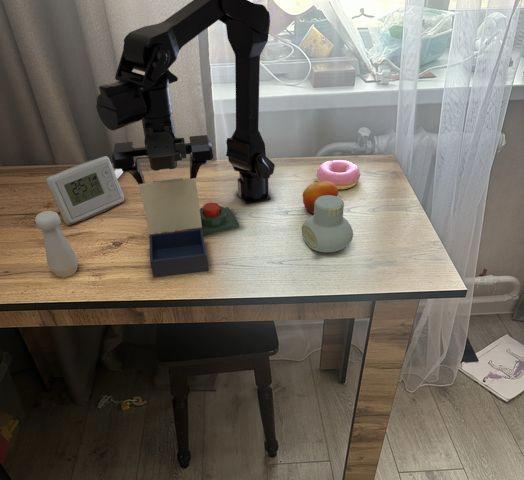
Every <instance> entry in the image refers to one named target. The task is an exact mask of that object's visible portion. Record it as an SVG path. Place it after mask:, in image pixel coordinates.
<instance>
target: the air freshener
mask: <svg viewBox="0 0 524 480" xmlns="http://www.w3.org/2000/svg"><path fill="white" fill-rule="evenodd" d="M344 206H345V201H344V200H343V199H342V198H341V197H339V196H338V197H337V196H333V195H325V196H321V197H319V198H317V199H316V200H315V203H314V213H313V215H311V216H309V217H308V218H306V220H305V221H304V222H303V224H302V226H301V235H302V237H303V240H304V242H305V244H307V246H308V247H309V248H310V249H311V250H314V251H316V252H320V253H335V252H339V251H341V250H343V249H345V248H346V247H348V246H349V244H350V243H351V242H352V240H353V238H354V230H353V228H352V225H351V223H350V221H348V219H346V217H344V208H345V207H344Z"/></svg>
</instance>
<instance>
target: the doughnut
mask: <svg viewBox="0 0 524 480" xmlns="http://www.w3.org/2000/svg"><path fill="white" fill-rule="evenodd" d="M315 174H316V175H315V176H316V180H317V182H323V181H329V182H332V183H333V184H334V185H336V187H337V189H338V190H346V189H350V188H352V187H354V186H355V185H356V184H357V183H358V182H359V180H360V179H361V178H360V177H361V174H362V173H361V170H360V168H359V166H358V165H356V164H355V163H354V162H351V161H348V160H345V159H344V160H341V159H332V160H327V161H326V162H323V163H322V164H320V165H319V166H318V169H316V172H315Z"/></svg>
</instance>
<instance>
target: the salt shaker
mask: <svg viewBox="0 0 524 480" xmlns="http://www.w3.org/2000/svg"><path fill="white" fill-rule="evenodd" d="M34 220H35V224H36V227H37V228H38V229H39V230H41V231H42V236H43V242H44V250H45V257H46V264H47V266H48V269H49V270H50V271H51V272H52V274H54V275H55V276H56V277H58V278H62V279H66V278H69V277H72V276H74V275H75V274H76V272H77V270H78V266H79V259H78V256H77V255H76V253H75V251H74V249H73V248H72V246H71V244H70V243H69V241H68V239H67V238H66V236H65V234H64V232H63V230H62V228H61V227H60V225H61V222H62V221H61V218H60V216H59V214H58V213H57V212H56V211H53V210H44V211H42V212H39V213H38V214H36V216H35V218H34Z"/></svg>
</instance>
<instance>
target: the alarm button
mask: <svg viewBox="0 0 524 480" xmlns="http://www.w3.org/2000/svg"><path fill="white" fill-rule="evenodd" d="M219 206H220V204H219V203H217V202H207V203H205V204H203V205H202V207H203V210H204V215H205V216H207V217H215V216H218V215H219V214H220V207H219Z"/></svg>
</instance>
